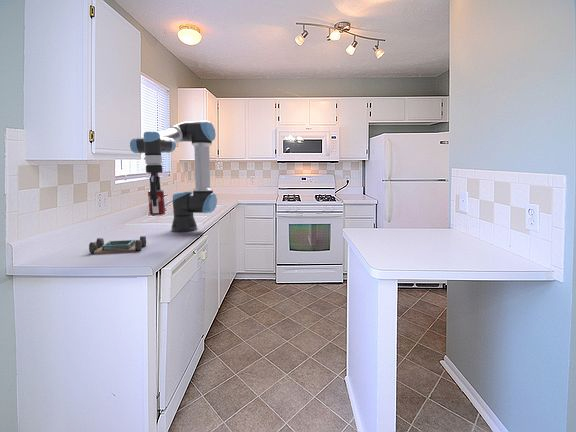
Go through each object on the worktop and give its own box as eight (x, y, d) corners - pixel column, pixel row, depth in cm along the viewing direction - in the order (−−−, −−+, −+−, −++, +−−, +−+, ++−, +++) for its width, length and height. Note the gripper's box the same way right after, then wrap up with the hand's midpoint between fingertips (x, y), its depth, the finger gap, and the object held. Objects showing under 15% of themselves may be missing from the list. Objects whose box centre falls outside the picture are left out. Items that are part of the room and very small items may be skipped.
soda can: (158, 214, 196) (156, 190, 194) (168, 214, 192) (166, 190, 191) (146, 215, 190) (144, 191, 188) (156, 216, 186) (154, 191, 185)
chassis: (100, 247, 194) (99, 237, 193) (146, 244, 197) (146, 235, 196) (89, 254, 178) (88, 243, 177) (139, 251, 181) (138, 241, 181)
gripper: (149, 164, 197) (153, 209, 200) (141, 164, 177) (144, 215, 181) (165, 164, 198) (168, 209, 201) (158, 164, 179) (161, 214, 182)
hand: (157, 211), depth 191 cm, fingers closed on soda can, 7 cm apart
